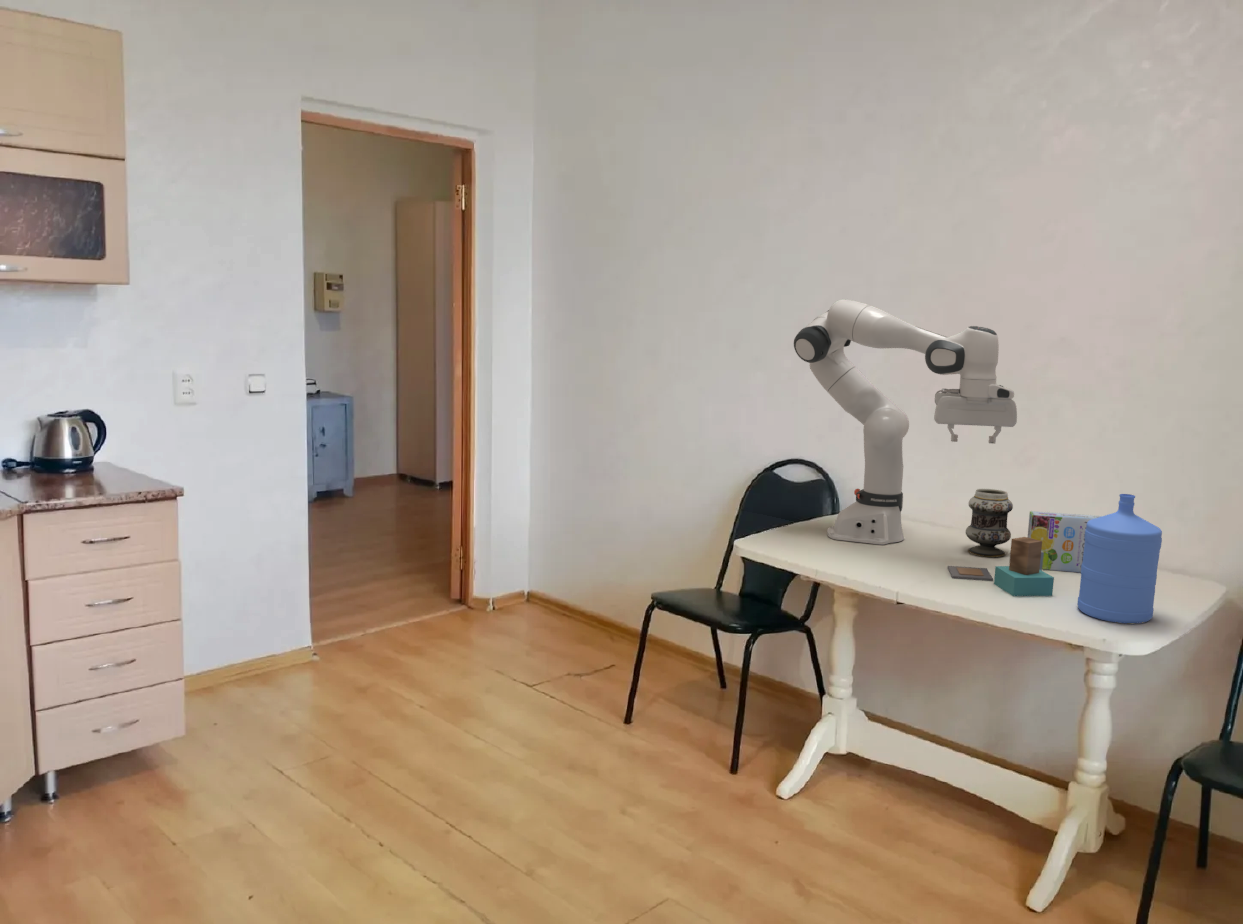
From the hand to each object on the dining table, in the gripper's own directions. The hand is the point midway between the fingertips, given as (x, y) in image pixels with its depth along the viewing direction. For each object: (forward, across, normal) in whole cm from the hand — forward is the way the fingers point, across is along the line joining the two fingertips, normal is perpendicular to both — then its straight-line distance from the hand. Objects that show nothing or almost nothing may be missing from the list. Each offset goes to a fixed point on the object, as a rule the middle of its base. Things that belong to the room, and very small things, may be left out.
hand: (972, 442), depth 252 cm
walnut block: (+30, +12, -16) cm, 36 cm away
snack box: (+34, +28, +6) cm, 45 cm away
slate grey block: (+34, +15, -7) cm, 38 cm away
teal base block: (+34, +12, -17) cm, 40 cm away
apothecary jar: (+34, +9, +18) cm, 40 cm away
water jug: (+34, +29, -31) cm, 55 cm away
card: (+34, +1, -6) cm, 35 cm away
